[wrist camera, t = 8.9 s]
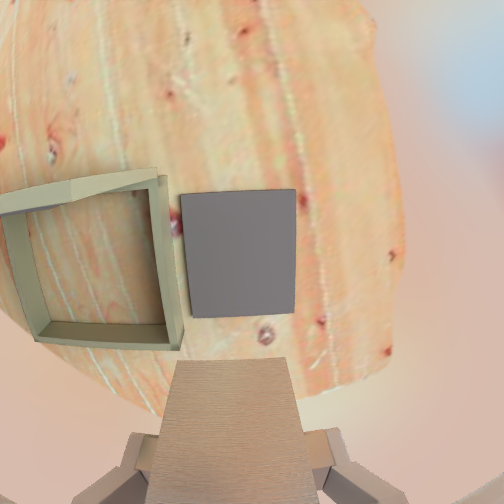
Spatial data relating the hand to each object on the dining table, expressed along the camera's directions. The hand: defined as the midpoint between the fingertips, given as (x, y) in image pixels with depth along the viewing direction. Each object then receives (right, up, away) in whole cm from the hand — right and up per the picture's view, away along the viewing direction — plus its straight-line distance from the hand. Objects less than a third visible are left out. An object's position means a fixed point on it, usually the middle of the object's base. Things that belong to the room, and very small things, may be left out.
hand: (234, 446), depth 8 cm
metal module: (0, +1, +3) cm, 3 cm away
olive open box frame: (-15, +5, +18) cm, 24 cm away
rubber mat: (0, +6, +19) cm, 20 cm away
